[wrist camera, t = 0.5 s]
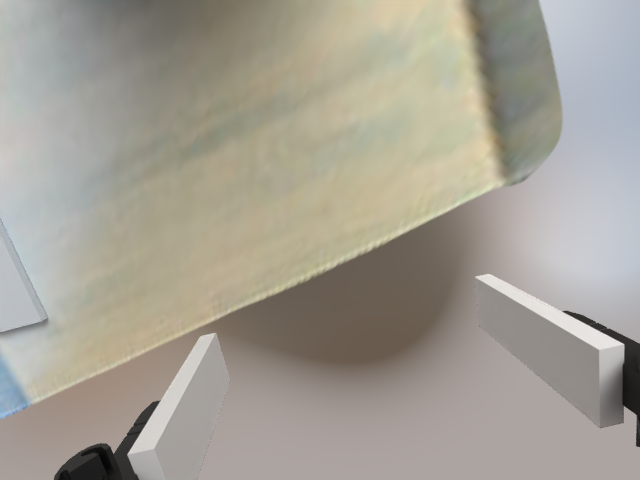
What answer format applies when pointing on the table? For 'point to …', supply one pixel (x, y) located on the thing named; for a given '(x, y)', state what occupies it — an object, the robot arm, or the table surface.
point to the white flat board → (16, 290)
